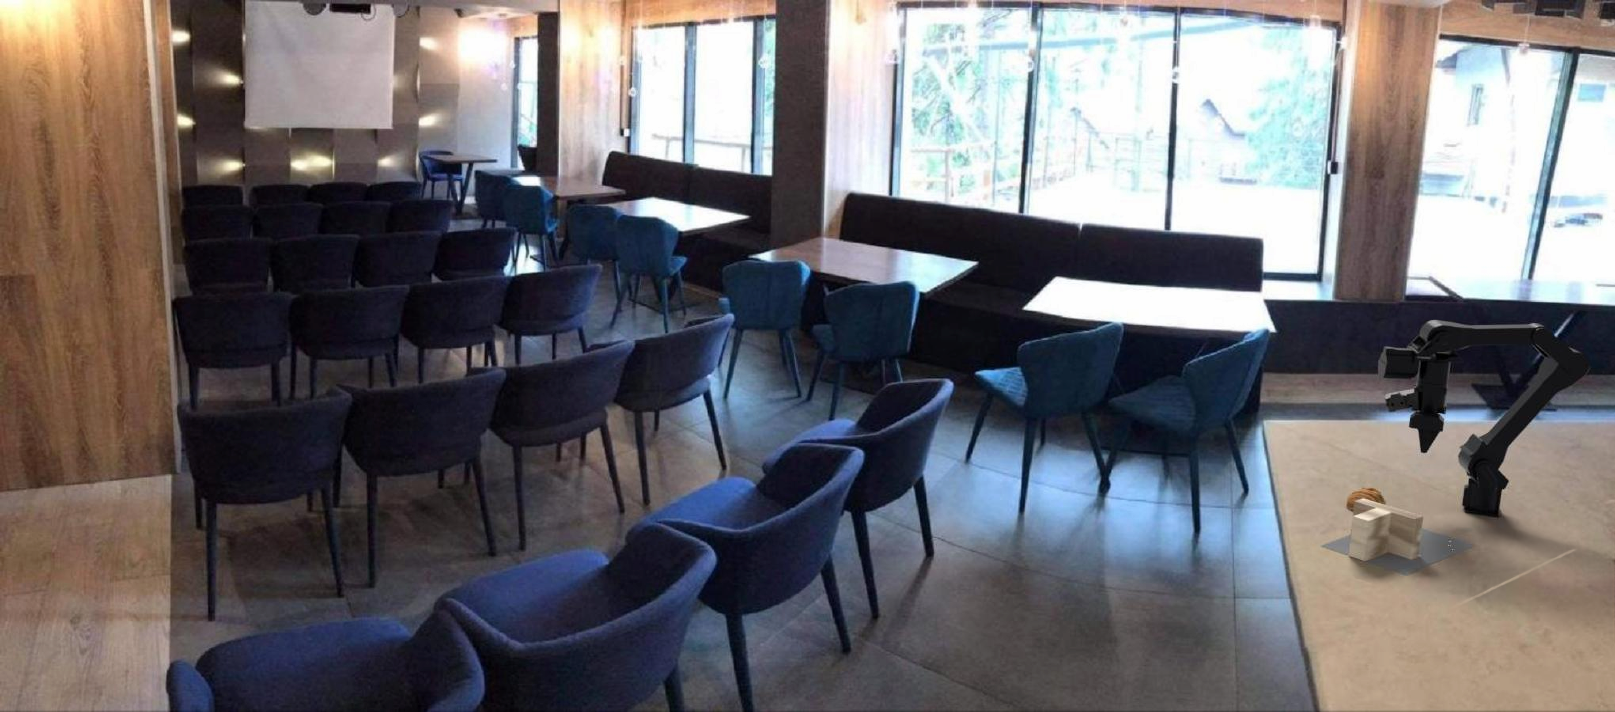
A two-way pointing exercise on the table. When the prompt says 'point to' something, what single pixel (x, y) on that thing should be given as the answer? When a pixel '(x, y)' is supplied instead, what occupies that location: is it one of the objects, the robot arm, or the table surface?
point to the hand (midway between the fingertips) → (1423, 452)
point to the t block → (1383, 531)
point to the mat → (1429, 553)
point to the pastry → (1365, 496)
